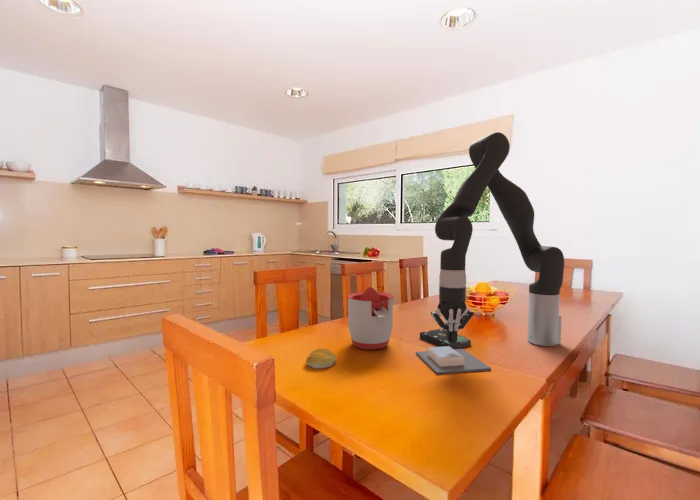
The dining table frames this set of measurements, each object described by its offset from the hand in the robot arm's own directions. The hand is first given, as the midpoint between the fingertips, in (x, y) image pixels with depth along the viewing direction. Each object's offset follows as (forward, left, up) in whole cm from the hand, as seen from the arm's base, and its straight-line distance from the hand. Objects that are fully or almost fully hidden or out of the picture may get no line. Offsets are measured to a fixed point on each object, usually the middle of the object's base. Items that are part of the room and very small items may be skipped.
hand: (451, 342), depth 103 cm
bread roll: (+38, -6, -6) cm, 39 cm away
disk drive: (-6, -18, -6) cm, 20 cm away
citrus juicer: (+20, -18, -6) cm, 28 cm away
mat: (0, 0, -6) cm, 6 cm away
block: (-2, 0, -4) cm, 4 cm away
